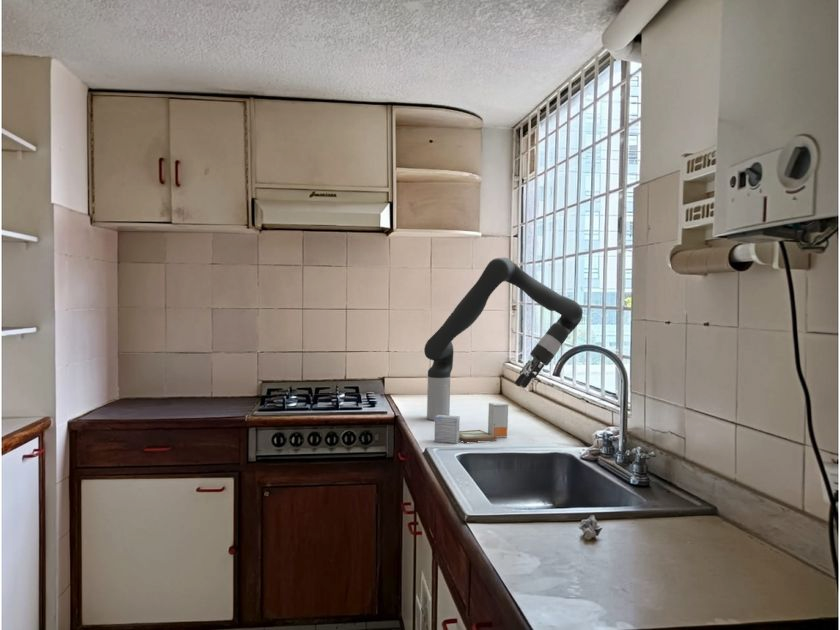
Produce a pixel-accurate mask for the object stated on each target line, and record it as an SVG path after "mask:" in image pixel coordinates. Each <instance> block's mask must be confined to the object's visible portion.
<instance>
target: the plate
mask: <svg viewBox="0 0 840 630" xmlns="http://www.w3.org/2000/svg"><path fill="white" fill-rule="evenodd" d="M459 440H460V442H461V441H463V442H464V444H468V443H467V442H476V443H479V442H478V441H490V442H497V438H496V436H493V435H491V434H489V433H488V432H486V431H484V430H481V429H474V430H459ZM463 442H462V443H463Z"/></svg>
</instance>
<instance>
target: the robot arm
mask: <svg viewBox="0 0 840 630" xmlns="http://www.w3.org/2000/svg"><path fill="white" fill-rule="evenodd" d="M504 282H506V283H509V284H511V285H513V286H514V287H517V288H519V289H520V290H521V291H522V292H524V293H525V294H526V296H528V297H529V298H530V299H532V300H533V301H534V302H535V303H537V304H538V305H539V306H541V307H543V308H545V309H546V310H548V311H550V312H554V313H555V312H556V313H558V314H559V315H560V317H559V318H558V320H557V321H556V322H554V323H553V324H552V325H550V327H549V328H548V330H546V332H545V334H544V335H543V336H542V337H541V338H540V339H539V340H538V342H537V343H536V345H535V346H534V347H533V349H532V350H531V351H530V356H531V357H532V359H531V360H528V361H527V362H526V363H525V365H524V366H523V367H522V369H521V370H520V371H519V376H518V377H517V379H516V380H515V381H514V384H515V385H516V386H517V387H521V386H522V387H523V388H524V389H525V388H527V387H528V386H529V384H530V382H531V381H532V380H534V379H537V377H538V375H539V374H540V373H541V371H542V369H543V368H544V367H545V366H546V367H547V366H548V365H549V364H550V363H551V362H552V360H553V359H554V357H555V356H556V355H557V354H558V352H559V351H560V349H561V347H562V345H563V344H564V343H565V341H566V340H567V339H568V337H569V335H570V334H571V333H572V332H573V331H574V330H575V329H576V328H577V326H578V325H579V324H580V322H581V321H582V320H583V319H582V318H583V312H584V311H583V308H582V307H583V306H581V304H579V303H578V302H577V301H576V300H573V299H571V298H569V297H567V296H564V295H561V294H560V293H558V292H557V291H555V290H554V289H552V288H550V287H548V286H546V284H543V283H542V282H541V281H538V280H537V279H535V278H534V277H532V276H531V275H529V274H528V273H527V272H525V271H524V269H522V268H520V267H519V266H518V264H516V263H515V262H514V261H513V260H511V258H508V257H502V256H501V257H496V258H493V259H492V260H490V261H489V262H488V264H487V265H486V267H485V268H484V269H483V271H482V273H481V275H480V276H479V278H478V280H477V281H476V282H475V283H474V285H473V286H472V287H471V288H470V289H469V290H468V292H467V293H466V294H465V295H464V297H463V298H462V299H461V300H460V302H459V303H458V304H457V305H456V307H455V308H454V309H453V311H452V312H451V313H450V315H449V316H448V317H447V318H446V320H445V321H444V323H443V324H442V325H441V326H440V327H439V328H438V330H437V331H436V332H435V333H434V334H433V335H431V337H430V338H429V339H428V340H427V341H426V343H425V345H424V351H423V352H424V355H425V357H426V358H427V359H428V360H429V361H433V363H432V365H431V367H430V368H428V370H427V399H426V404H427V405H426V419H427V420H430V421H435V417H436V416H437V415H449V416H450V407H451V406H450V405H451V402H450V401H451V374H452V371H453V366H454V365H453V364H454V345H453V340H454V339H455V338H457V336H459V335H460V334H462V333H463V332H464V331H466V330H467V329H469V328H470V327H471V326H472V325H473V324H474V323H475V322H476V320H477V319H478V318H479V316H480V315H481V314H482V312H483V311H484V309H485V307H486V305H487V302H488V300H489V298H490V296H491V295H492V294H493V293H494V291H495V290H496V289H497V288H498V287H499V286H500V285H501V284H502V283H504Z"/></svg>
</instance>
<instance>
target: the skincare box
mask: <svg viewBox="0 0 840 630" xmlns="http://www.w3.org/2000/svg"><path fill="white" fill-rule="evenodd" d="M487 416H488V417H487V419H488V420H487V424H488V425H487V433H489V434H491V435H493V436H496V439H497V438H498V439H501V438H502V437H507V438H508V428H509V427H508V423H509V422H508V421H509V404H508V403H506V402H504V401H502V402H489V403H488V415H487Z"/></svg>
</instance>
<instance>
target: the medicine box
mask: <svg viewBox="0 0 840 630" xmlns="http://www.w3.org/2000/svg"><path fill="white" fill-rule="evenodd" d="M460 418H461V417H460V416H458V415H450V414H449V415H437V416H436V417H435V420H434V441H435V442H434V441H433V442H434V443H445V442H450V443H449V444H458V443H459V431H460Z"/></svg>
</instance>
